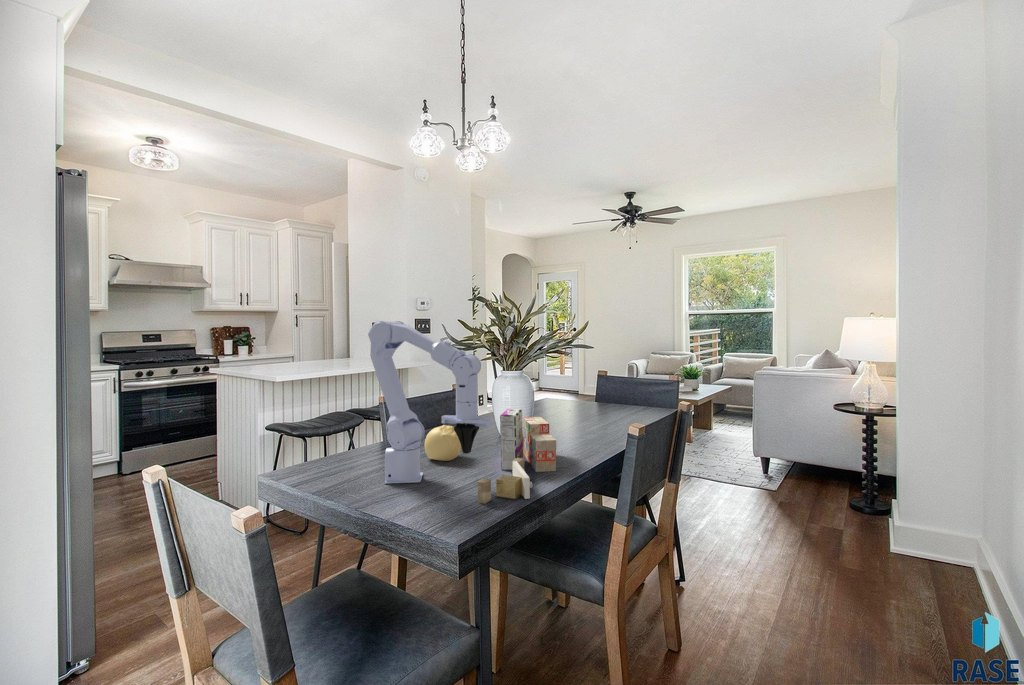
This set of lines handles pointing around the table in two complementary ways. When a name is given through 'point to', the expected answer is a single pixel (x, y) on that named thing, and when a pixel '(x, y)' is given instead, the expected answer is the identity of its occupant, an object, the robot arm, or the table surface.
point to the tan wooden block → (508, 487)
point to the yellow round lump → (442, 443)
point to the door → (522, 479)
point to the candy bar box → (511, 437)
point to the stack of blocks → (539, 444)
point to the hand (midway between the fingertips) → (466, 452)
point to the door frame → (485, 485)
